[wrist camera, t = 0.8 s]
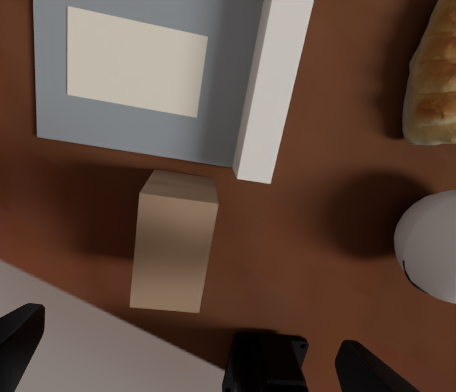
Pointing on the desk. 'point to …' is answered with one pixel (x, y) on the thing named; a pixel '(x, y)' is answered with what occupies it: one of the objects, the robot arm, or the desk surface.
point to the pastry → (433, 82)
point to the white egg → (429, 245)
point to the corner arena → (170, 76)
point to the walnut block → (173, 241)
